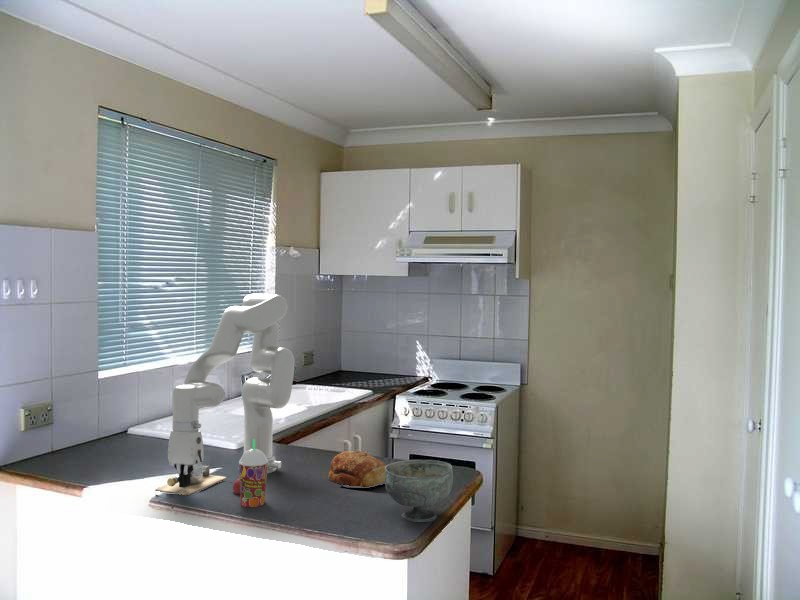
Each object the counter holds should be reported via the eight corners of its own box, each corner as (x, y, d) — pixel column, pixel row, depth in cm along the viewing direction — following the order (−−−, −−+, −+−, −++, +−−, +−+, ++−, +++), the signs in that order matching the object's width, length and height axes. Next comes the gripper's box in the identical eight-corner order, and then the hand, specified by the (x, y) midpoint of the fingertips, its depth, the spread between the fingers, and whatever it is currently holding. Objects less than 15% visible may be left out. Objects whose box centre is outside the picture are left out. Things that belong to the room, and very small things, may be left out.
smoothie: (240, 514, 192) (241, 443, 192) (235, 505, 200) (236, 437, 199) (270, 510, 195) (271, 441, 195) (263, 502, 203) (265, 435, 203)
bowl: (394, 504, 203) (395, 454, 203) (458, 512, 197) (459, 460, 197) (373, 526, 184) (374, 471, 184) (443, 535, 179) (444, 479, 178)
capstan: (196, 476, 221) (197, 458, 221) (212, 478, 219) (212, 460, 219) (160, 490, 205) (160, 472, 204) (177, 493, 203) (177, 474, 202)
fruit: (243, 501, 203) (244, 475, 203) (230, 498, 206) (230, 471, 206) (258, 496, 208) (259, 470, 208) (245, 493, 211) (245, 467, 211)
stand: (227, 483, 222) (227, 461, 221) (188, 500, 203) (188, 477, 203) (196, 478, 226) (196, 457, 226) (155, 495, 207) (155, 473, 207)
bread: (360, 472, 239) (361, 444, 239) (402, 482, 228) (403, 452, 228) (320, 485, 222) (321, 454, 222) (363, 496, 212) (364, 464, 211)
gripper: (213, 426, 207) (212, 486, 207) (173, 421, 212) (172, 480, 212) (198, 430, 200) (197, 492, 200) (156, 426, 205) (156, 486, 205)
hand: (184, 486), depth 206 cm, fingers closed
